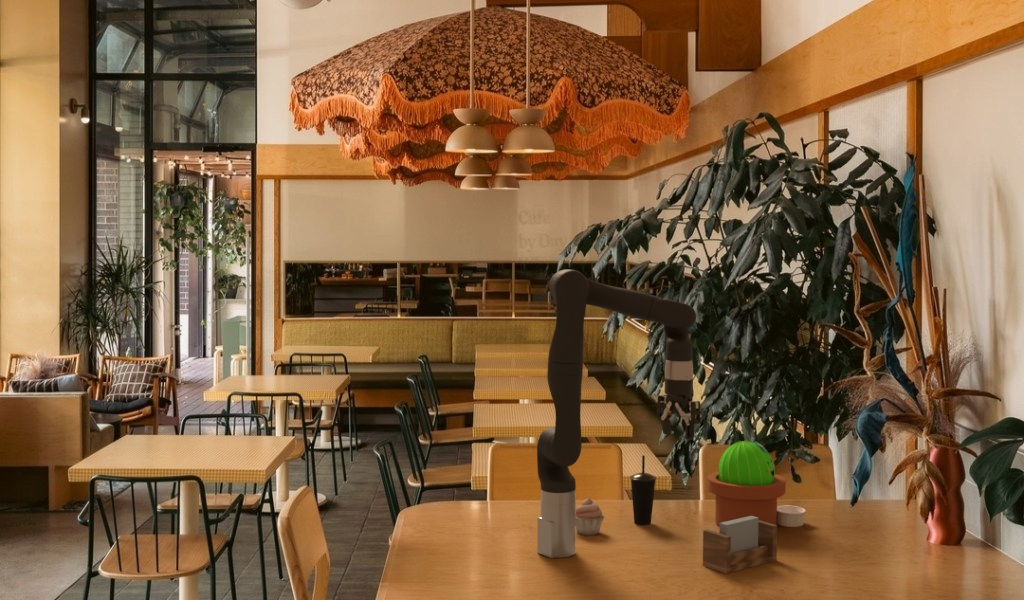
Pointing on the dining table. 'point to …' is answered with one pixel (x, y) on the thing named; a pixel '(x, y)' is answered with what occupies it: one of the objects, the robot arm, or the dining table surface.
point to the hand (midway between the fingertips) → (678, 436)
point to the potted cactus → (746, 484)
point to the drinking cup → (642, 496)
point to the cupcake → (588, 518)
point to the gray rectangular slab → (741, 533)
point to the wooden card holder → (724, 561)
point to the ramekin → (790, 516)
